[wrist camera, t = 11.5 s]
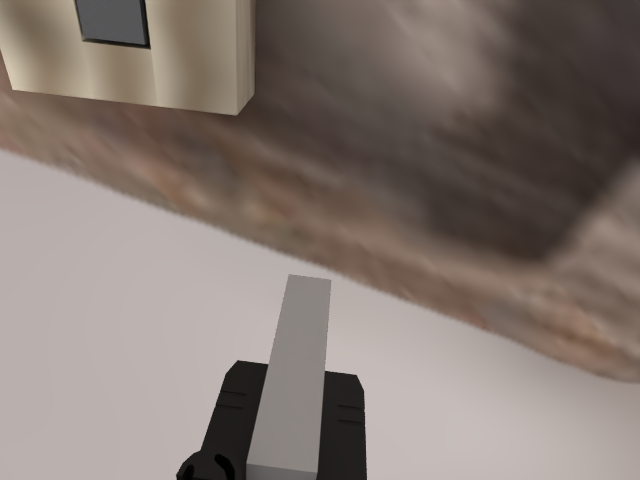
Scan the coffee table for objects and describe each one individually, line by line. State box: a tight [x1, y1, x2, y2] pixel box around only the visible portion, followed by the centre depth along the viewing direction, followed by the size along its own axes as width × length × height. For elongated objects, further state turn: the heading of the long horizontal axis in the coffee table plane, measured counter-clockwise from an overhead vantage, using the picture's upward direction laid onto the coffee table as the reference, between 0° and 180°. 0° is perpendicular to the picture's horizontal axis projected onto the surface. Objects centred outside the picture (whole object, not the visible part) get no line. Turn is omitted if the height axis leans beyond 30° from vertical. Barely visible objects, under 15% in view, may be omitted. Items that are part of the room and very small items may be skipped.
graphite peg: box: [76, 0, 150, 45], centre depth 27 cm, size 4×4×6 cm
